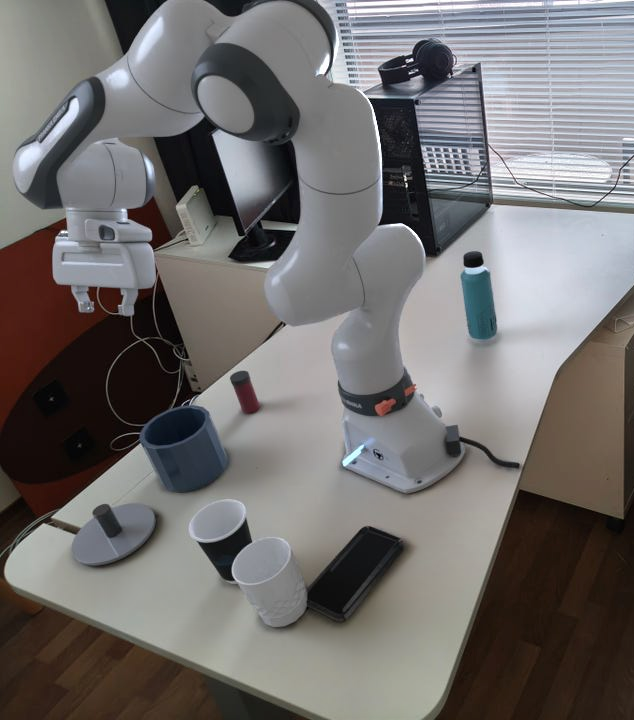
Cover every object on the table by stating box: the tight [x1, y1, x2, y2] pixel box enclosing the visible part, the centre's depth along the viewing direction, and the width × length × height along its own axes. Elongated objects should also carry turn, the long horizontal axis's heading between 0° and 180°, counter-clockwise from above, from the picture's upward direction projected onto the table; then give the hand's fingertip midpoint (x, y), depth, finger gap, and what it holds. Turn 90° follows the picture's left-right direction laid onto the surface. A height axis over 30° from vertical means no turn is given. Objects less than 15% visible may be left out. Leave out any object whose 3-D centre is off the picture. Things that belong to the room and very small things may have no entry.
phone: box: [306, 525, 405, 623], centre depth 100 cm, size 8×1×15 cm
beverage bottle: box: [459, 250, 498, 341], centre depth 145 cm, size 6×7×20 cm
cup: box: [139, 404, 228, 493], centre depth 121 cm, size 12×12×10 cm
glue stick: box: [229, 370, 261, 415], centre depth 136 cm, size 4×4×8 cm
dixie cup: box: [188, 499, 253, 585], centre depth 100 cm, size 8×8×11 cm
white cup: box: [232, 536, 308, 628], centre depth 94 cm, size 8×8×10 cm
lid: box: [71, 502, 157, 566], centre depth 110 cm, size 13×13×6 cm
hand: (106, 314), depth 116 cm, fingers open, 8 cm apart
